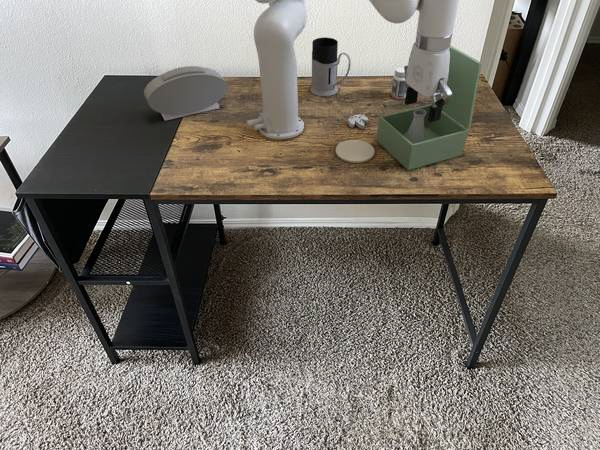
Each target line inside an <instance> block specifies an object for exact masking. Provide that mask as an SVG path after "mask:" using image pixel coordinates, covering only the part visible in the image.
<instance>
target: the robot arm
mask: <svg viewBox="0 0 600 450" xmlns="http://www.w3.org/2000/svg"><path fill="white" fill-rule="evenodd" d="M254 1H255V2H257V3H259V4H262V5H263V4H268V6H269V7H267V8H266V9H265V10H264V11H262V13H261V14H260V15H259V16H258V17H257V19H256V21H255V23H254V27H253V41H254V45H255V49H256V55H257V59H258V66H259V67H258V68H259V69H258V70H259V77H260V78H259V79H260V90H261V91H260V92H261V101H262V112H260V113H259V116H257V118H255V119H253V118H252V119H249V120H248V119H247V120H246V126H247V128H248V129H249V128H253V129H254V130H255V131H257V130H258V132H259V133H260V134H261V135H262V136H264V137H265V138H268V139H271V140H275V141H276V140H277V141H281V140H291V139H293V138H295V137H298V136H299V135H301V134H302V133H303V132H304V129H305V123H304V121H303V120H302V119H301V118H300V117H299V92H298V90H299V89H298V62H297V56H296V51H295V41H296V40H297V38H298V37H299V36H300V34H301V33H302V32H303V30H304V29H305V27H306V25H307V21H308V19H307V18H308V13H307V6H306V1H305V0H254ZM368 1H369V2H370V3H371V5H372V6H373V8H374V9H375V10H376V11H377V13H378V14H379V15H380V16H381V17H382V18H383V19H384V20H386V22H388V23H392V24H403V23H405V22H407V21H409V20H410V19H411V18H412V17H413V15H414V14H415V13H416V11H418V19H417V27H416V34H415V41H414V43H413V44H412V47H411V50H410V54H409V57H408V62H407V65H404V66H403V67H404V71H405V74H406V75H405V80H406V85H405V86H406V89H407V90H406V97H405V98H404V105H406V106H409V105H412V104H416V103H417V101H418V96H419V94H420V95H421V96H423V97H424V98H427V99H428V98H429V99H430V104H432V106H430V109H429V115H428V122H434V121H438V120H440V118H441V113H442V112H443V111H442V107H443V106H444V105H445V104H446V103H448V101H449V99H450V98H451V96H452V92H451V91H450V89H449V87H448V86H447V80H448V73H449V63H450V51H449V49H450V46H451V43H452V38H453V32H454V27H455V21H456V16H457V11H458V7H459V1H460V0H368ZM435 92H436V93H435ZM435 96H438V97H439V100H438V101H436V98H435Z"/></svg>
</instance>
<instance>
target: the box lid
mask: <svg viewBox="0 0 600 450" xmlns="http://www.w3.org/2000/svg"><path fill="white" fill-rule="evenodd" d="M449 51H450V63H449V73H448V80H447V86H448V87H449V89H450V91H451V92H452V96H451V98H450V99H449V101H448V103H446V104H445V105H444V106H443V107H442V112H444V113H445V114H446V115H448V116H449V117H451V118H452V119H453V120H455V121H456V122H457V123H459V124H460V125H462V126H463V127H464V128H466V129H467V130H470V129H471V126H472V121H473V115H474V110H475V104H476V99H477V94H478V93H477V92H478V88H479V81H480V75H481V70H482V62H481V61H479V60H477V59H476V58H475V57H472V56H470V55H468V54H466V53H464V52H463V51H461V50H460V49H458V48H456V47H454V46H452V45H450V49H449ZM435 93H436V92H435ZM435 98H436V101H438V100H439V97H438V96H435Z"/></svg>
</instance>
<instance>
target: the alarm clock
mask: <svg viewBox="0 0 600 450" xmlns="http://www.w3.org/2000/svg"><path fill="white" fill-rule="evenodd" d="M228 85H229V84H228V83H227V81H226V80H225V79H224V77H223V76H222V75H221V74H220V73H219V72H218V71H216V70H215V69H212V68H209V67H203V66H197V65H188V66H181V67H177V68H173V69H170V70H168V71H166V72H164V73H162V74H159V75H157V76H156V77H154V78H153V79H152V80H151V81H150V82H148V83H147V84H146V86H145V88H144V90H143V96H144V98H145V100H146V101H147V104H148V106H149V107H150V109H152V110H153V111H155V113H156V112H157V113H159V114H160V115H161V117H162V118H163V120H164V121H169V120H174V119H178V118H182V117H186V116H191V115H196V114H200V113H203V112H204V113H205V112H209V111H213V110H217V109H220V108H221V107H220V104H219V103H218V102H220V101H221V100H222V99H223V98H224V97H225V96H226V94H227V93H228V90H229V86H228Z"/></svg>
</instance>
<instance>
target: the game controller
mask: <svg viewBox="0 0 600 450" xmlns="http://www.w3.org/2000/svg"><path fill="white" fill-rule="evenodd" d="M340 111H341V113H342V114H343V115H345V116H347V115H348V116H350V114H349V113H346V114H344V112H343V111H342V110H341V109H340V110H339V112H340ZM368 121H369V118H368V117H367V116H366V115H364V114H355V115H352V116H350V117H349V118H348V119H347V124H348V127H350V128H355V127H357V128H359V129H361V130H364V129H365V124H368Z"/></svg>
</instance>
